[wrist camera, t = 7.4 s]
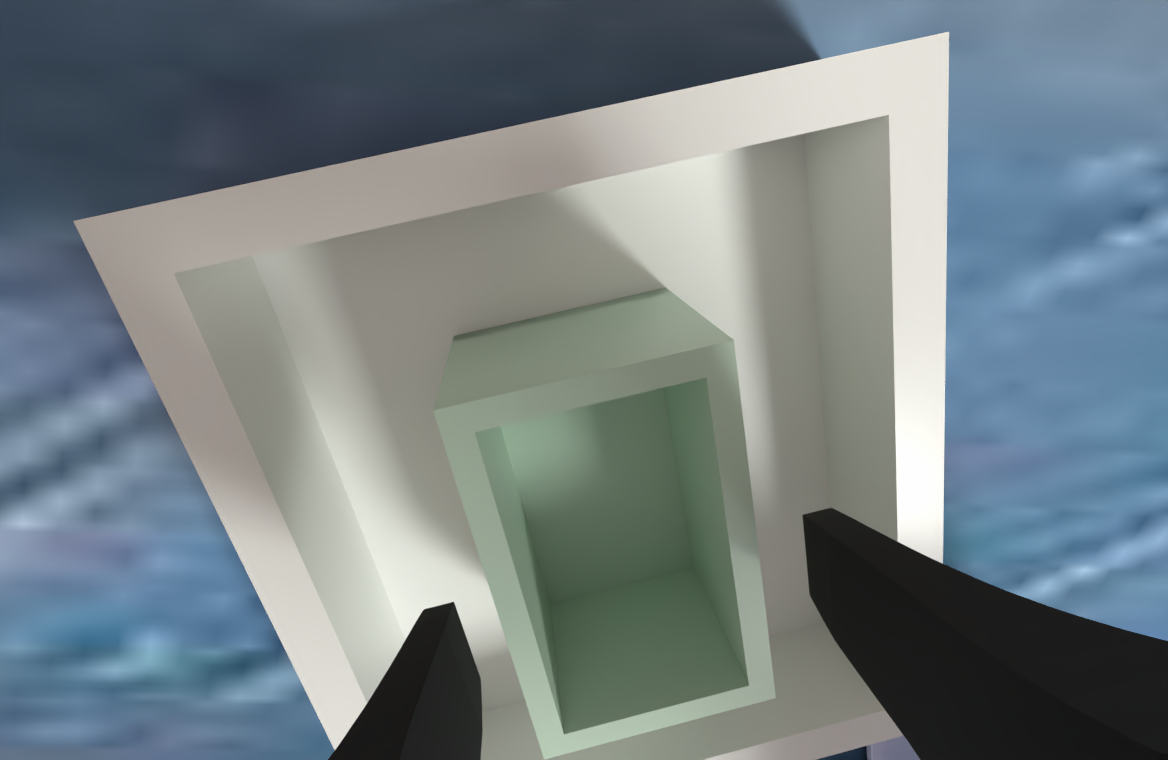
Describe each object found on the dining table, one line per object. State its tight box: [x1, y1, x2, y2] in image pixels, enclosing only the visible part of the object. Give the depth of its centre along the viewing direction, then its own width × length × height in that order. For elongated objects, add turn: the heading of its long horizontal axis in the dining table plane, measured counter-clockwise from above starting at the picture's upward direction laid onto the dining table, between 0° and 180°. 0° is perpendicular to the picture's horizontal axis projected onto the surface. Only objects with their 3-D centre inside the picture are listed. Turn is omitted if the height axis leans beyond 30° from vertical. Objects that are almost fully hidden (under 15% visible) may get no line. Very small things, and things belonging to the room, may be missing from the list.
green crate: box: [433, 287, 776, 759], centre depth 15 cm, size 9×6×5 cm, turn 12°
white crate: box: [73, 32, 949, 760], centre depth 16 cm, size 18×16×4 cm
